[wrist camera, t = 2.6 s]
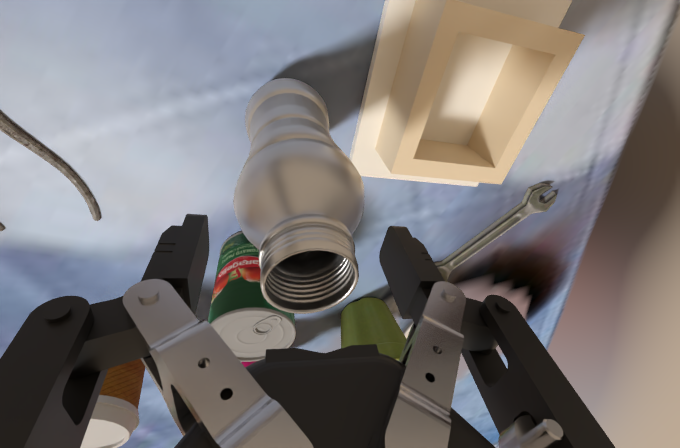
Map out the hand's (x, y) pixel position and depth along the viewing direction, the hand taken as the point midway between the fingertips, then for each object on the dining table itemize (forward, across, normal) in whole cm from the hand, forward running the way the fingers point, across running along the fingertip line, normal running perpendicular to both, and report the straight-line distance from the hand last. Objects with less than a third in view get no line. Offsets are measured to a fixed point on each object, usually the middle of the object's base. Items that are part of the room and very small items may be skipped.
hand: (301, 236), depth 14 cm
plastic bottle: (+17, 0, 0) cm, 17 cm away
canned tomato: (+17, +2, +17) cm, 24 cm away
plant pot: (+18, -14, +28) cm, 36 cm away
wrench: (+18, -27, +13) cm, 35 cm away
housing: (+17, -14, -4) cm, 23 cm away
